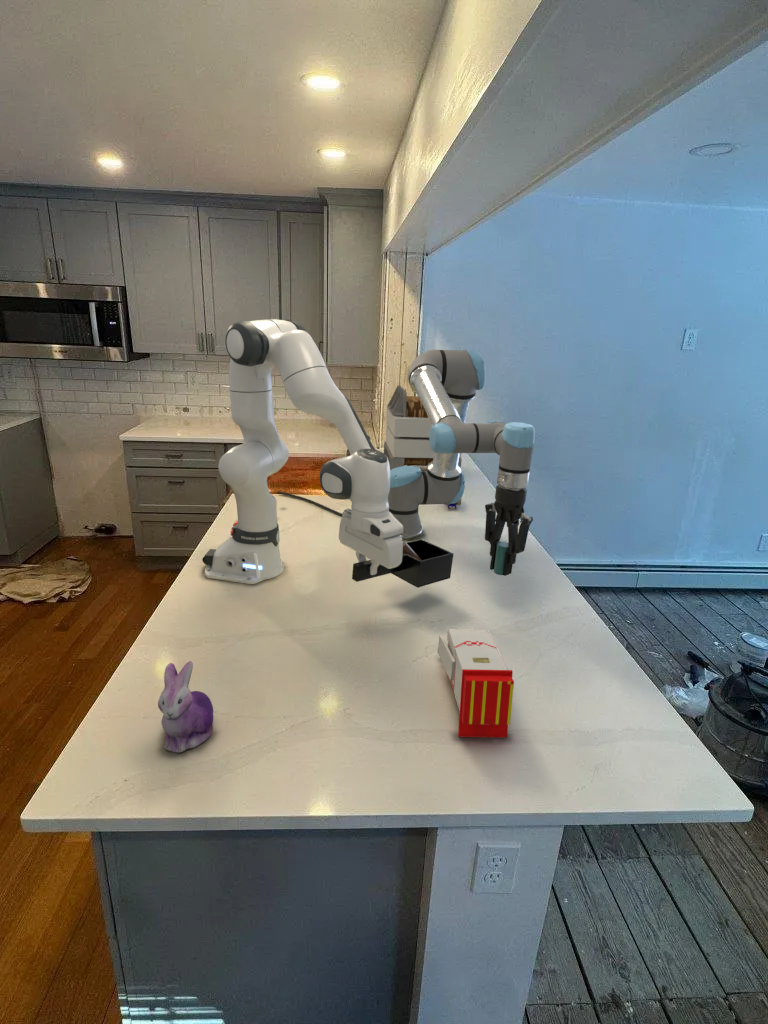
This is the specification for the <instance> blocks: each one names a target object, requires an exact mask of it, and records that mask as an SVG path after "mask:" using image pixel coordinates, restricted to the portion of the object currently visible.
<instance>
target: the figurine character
mask: <svg viewBox="0 0 768 1024" xmlns="http://www.w3.org/2000/svg"><path fill="white" fill-rule="evenodd" d="M461 505H462V498H461V499H460V500H459V501H458V502H456V503H453V504H447V505H446V506H447V509H448V510H451V508H453V507H454V510H457V509H458V507H459V506H461ZM450 507H451V508H450Z"/></svg>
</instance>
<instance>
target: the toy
mask: <svg viewBox="0 0 768 1024" xmlns="http://www.w3.org/2000/svg"><path fill="white" fill-rule="evenodd" d="M446 640H447V643H446V641H445V639H444V636H443V635H442V634H439V637H438V646H437V656H438V657H439V659H440V661H441V663H442V666H443V668H444V670H445V672H446V674H447V677H448V679H449V681H450V684H451V687H452V690H453V693H454V697H455V701H456V705H457V708H458V711H459V714H458V715H459V716H458V730H457V731H458V732H457V737H458V738H508V731H509V726H510V725H511V717H512V707H513V697H514V696H513V695H514V684H515V680H514V679H513V673H514V671H513V670H512V669H508V667H507V665H506V662H505V661H504V659H503V658H502V655H501V653H500V651H499V649H498V647H497V643H496V639H495V637H494V635H493V634H491V632H490V631H489V629H467V628H466V629H465V628H463V629H461V628H460V629H459V628H448V630H447V639H446Z"/></svg>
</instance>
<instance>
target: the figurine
mask: <svg viewBox="0 0 768 1024" xmlns="http://www.w3.org/2000/svg"><path fill="white" fill-rule="evenodd" d="M193 669H194V662H193V661H191V660H190V661H188V662H186V663H185V664H184V665H183V667H182V668H181V669H180V671H179V672H178V671H177V668H176V666H175V664H174V663H173V662H169V663H168V664H167V665H166V666H165V670H164V672H163V684H164V687H163V690H162V691H161V693H160V695H159V698H158V702H157V706H158V709H159V711H160V712H161V713H162V717H161V726H162V729H163V731H164V734H165V740H164V749H165V750H166V751H169V752H172V753H183V752H184V751H186V750H188V749H194V748H196V747H198V746H200V745H201V744H203V743H204V742H205V741H206V740H207V739H208V738H209V737H211V736H212V733H213V725H214V724H213V723H214V706H213V703H212V701H211V698H210V697H209V696H208V695H207V694H206V693H205V692H203V691H200V690H192V691H191V690H190V688H189V684H190V681H191V679H192V674H193Z"/></svg>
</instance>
